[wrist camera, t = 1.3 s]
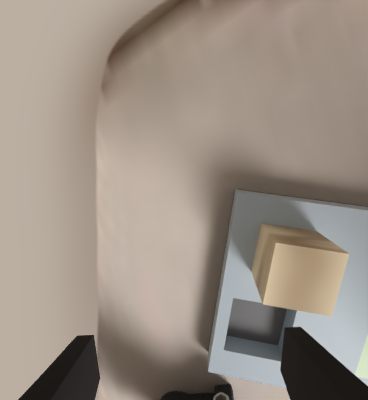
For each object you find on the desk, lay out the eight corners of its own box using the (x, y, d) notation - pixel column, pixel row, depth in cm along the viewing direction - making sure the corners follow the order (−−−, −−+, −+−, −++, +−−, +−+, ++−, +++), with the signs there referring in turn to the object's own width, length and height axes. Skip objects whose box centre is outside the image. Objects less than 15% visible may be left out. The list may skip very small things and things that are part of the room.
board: (477, 221, 17) (545, 237, 13) (409, 393, 20) (450, 441, 17) (235, 189, 19) (240, 196, 15) (208, 352, 22) (207, 389, 18)
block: (316, 230, 16) (349, 253, 13) (304, 280, 17) (331, 316, 13) (260, 222, 17) (275, 242, 13) (251, 271, 18) (262, 304, 14)
